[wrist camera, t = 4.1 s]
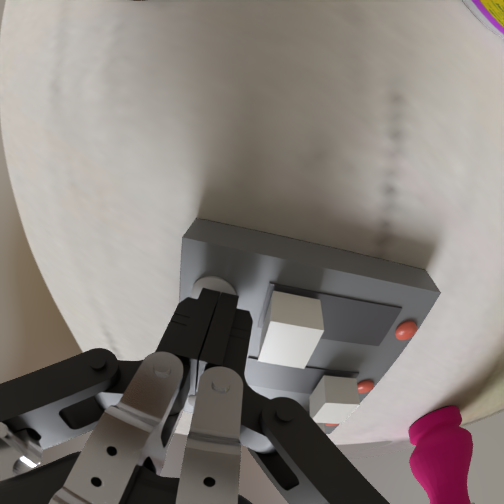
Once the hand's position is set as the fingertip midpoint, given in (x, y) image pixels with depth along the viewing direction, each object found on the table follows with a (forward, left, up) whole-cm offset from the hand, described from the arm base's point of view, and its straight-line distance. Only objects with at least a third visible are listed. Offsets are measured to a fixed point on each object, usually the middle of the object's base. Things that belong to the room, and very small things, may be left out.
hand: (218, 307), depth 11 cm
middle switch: (+5, +7, -1) cm, 9 cm away
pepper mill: (+15, +24, -3) cm, 28 cm away
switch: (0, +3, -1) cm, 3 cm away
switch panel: (+5, +4, -3) cm, 7 cm away
